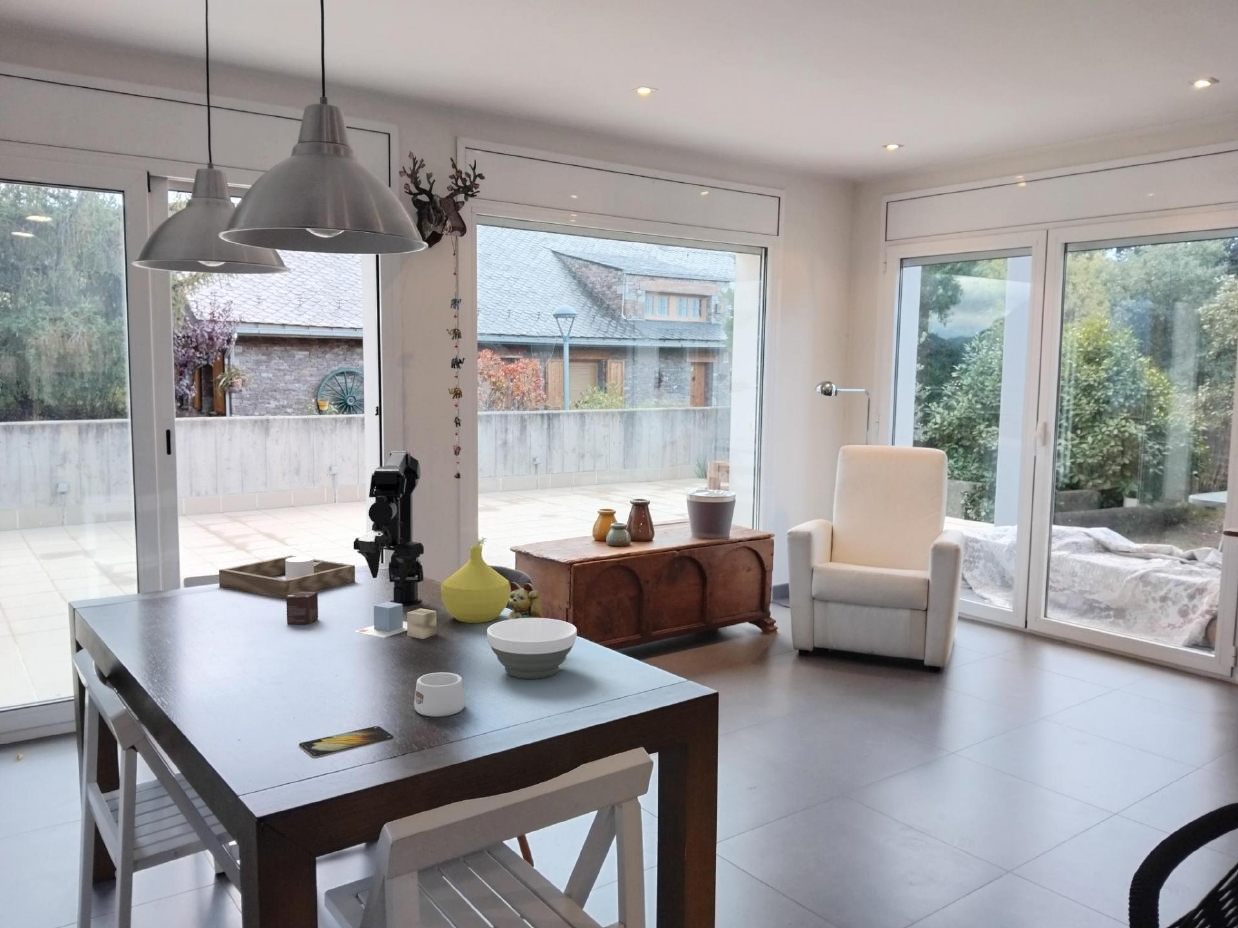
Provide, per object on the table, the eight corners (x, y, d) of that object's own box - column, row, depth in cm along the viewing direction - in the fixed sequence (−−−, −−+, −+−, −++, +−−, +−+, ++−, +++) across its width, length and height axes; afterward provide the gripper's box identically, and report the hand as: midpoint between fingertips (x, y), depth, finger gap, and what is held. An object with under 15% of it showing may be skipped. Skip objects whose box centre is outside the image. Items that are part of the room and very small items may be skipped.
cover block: (420, 631, 239) (420, 608, 238) (436, 634, 236) (436, 610, 236) (407, 636, 234) (407, 612, 234) (423, 639, 232) (422, 615, 231)
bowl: (554, 691, 196) (554, 645, 195) (470, 679, 203) (470, 635, 202) (589, 664, 214) (590, 623, 213) (511, 654, 221) (511, 614, 220)
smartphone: (395, 736, 170) (313, 756, 160) (395, 740, 170) (313, 759, 160) (378, 725, 175) (297, 743, 166) (378, 728, 175) (297, 746, 166)
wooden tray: (291, 570, 307) (290, 555, 306) (355, 581, 293) (354, 565, 293) (219, 586, 283) (219, 569, 283) (285, 598, 270) (284, 581, 269)
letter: (393, 619, 249) (393, 619, 249) (422, 625, 244) (422, 624, 244) (353, 631, 237) (353, 631, 237) (384, 638, 232) (384, 637, 232)
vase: (503, 608, 264) (503, 539, 262) (517, 624, 246) (517, 552, 245) (436, 612, 258) (436, 542, 256) (446, 629, 241) (446, 555, 239)
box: (318, 619, 249) (318, 591, 248) (309, 625, 243) (308, 597, 242) (296, 618, 249) (296, 590, 248) (286, 624, 243) (285, 596, 242)
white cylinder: (346, 585, 290) (345, 559, 289) (287, 595, 275) (287, 568, 274) (310, 575, 303) (310, 550, 302) (252, 584, 288) (252, 558, 287)
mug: (474, 711, 184) (474, 680, 183) (428, 721, 178) (428, 690, 177) (444, 694, 193) (444, 665, 193) (400, 703, 187) (399, 673, 187)
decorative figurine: (500, 643, 229) (500, 582, 228) (518, 635, 237) (518, 576, 235) (535, 649, 225) (535, 586, 224) (552, 640, 233) (553, 580, 231)
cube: (387, 624, 244) (387, 601, 243) (402, 627, 242) (402, 604, 241) (374, 628, 240) (373, 605, 239) (389, 631, 237) (389, 608, 237)
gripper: (336, 519, 236) (337, 581, 237) (393, 526, 226) (394, 590, 228) (369, 513, 245) (369, 573, 247) (425, 520, 236) (425, 582, 238)
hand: (388, 580), depth 239 cm, fingers open, 9 cm apart
